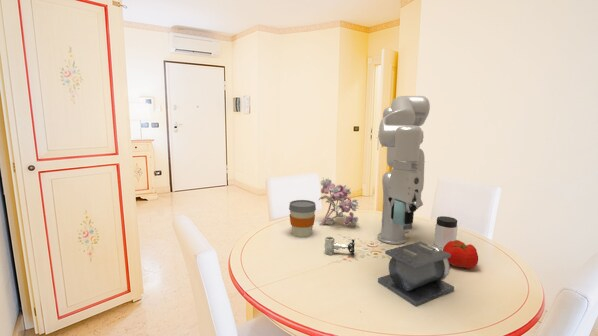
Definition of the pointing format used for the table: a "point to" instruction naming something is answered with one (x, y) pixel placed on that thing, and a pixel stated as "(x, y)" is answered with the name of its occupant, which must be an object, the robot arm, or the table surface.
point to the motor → (417, 272)
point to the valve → (337, 246)
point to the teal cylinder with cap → (399, 213)
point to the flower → (339, 195)
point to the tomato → (461, 254)
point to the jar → (445, 230)
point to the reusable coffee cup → (302, 217)
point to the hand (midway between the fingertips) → (401, 220)
